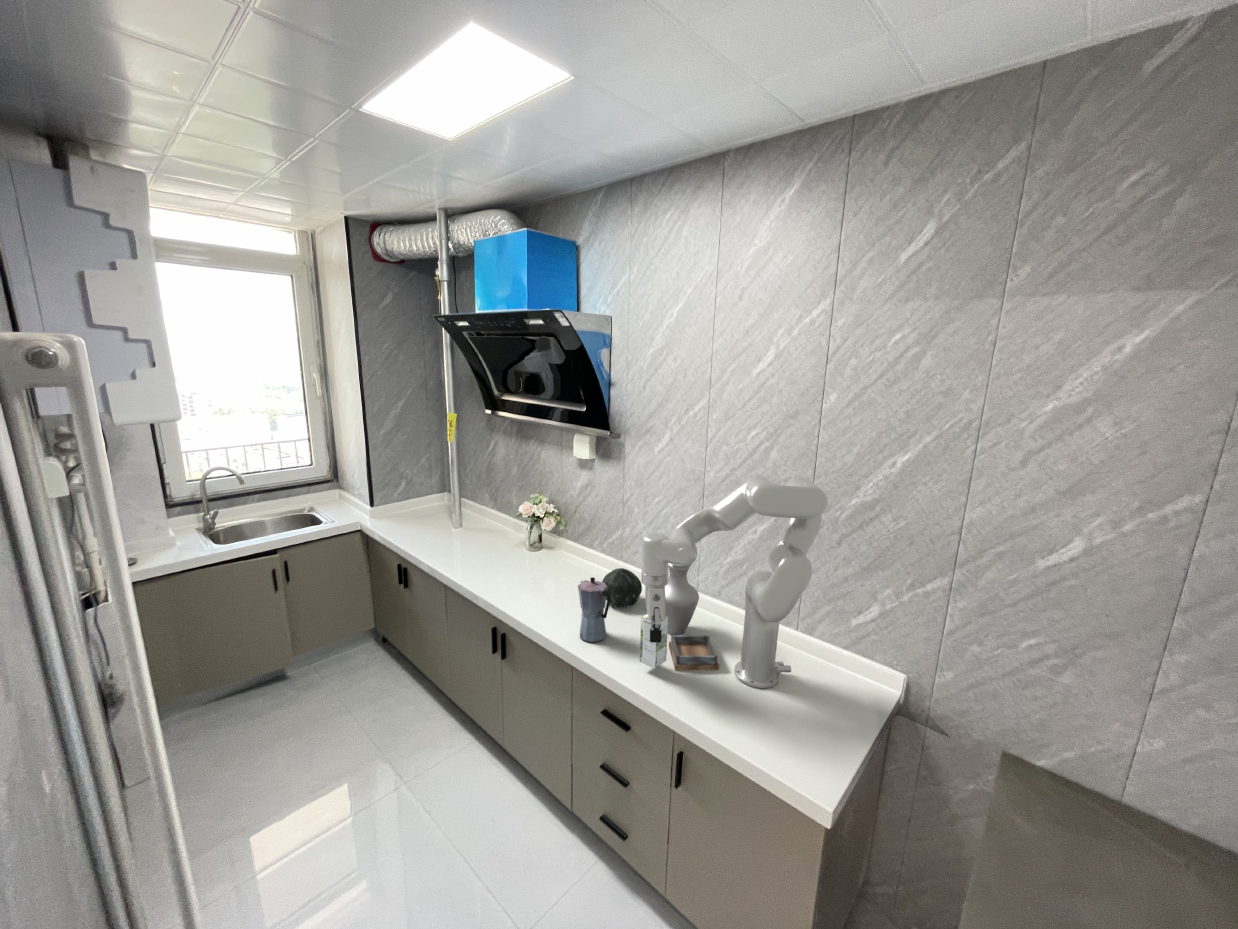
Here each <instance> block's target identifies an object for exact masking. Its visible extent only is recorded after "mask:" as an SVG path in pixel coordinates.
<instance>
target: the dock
mask: <svg viewBox="0 0 1238 929" xmlns="http://www.w3.org/2000/svg"><path fill="white" fill-rule="evenodd" d="M668 648H669V652H670V656H671V659H672V664H673V667H674V671H720V665H719V662H718V654H717V651H716V649H715V647H714V644H713V642H712V640H711V638H710V636H709V635H707V634H705V635H702V634H700V635H699V634H697V635H695V634H693V635H692V634H691V635H689V634H685V635H684V634H682V635H671V636H670V641H668Z"/></svg>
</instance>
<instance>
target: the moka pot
mask: <svg viewBox="0 0 1238 929" xmlns="http://www.w3.org/2000/svg"><path fill="white" fill-rule="evenodd" d="M577 590H578V597H579V598H578V599H579V604H580V606H579V607H580V608H581V618H580V619H581V620H580V627H579V638H580V639H581V640H583V641H585V642H590V643H591V642H592V643H595V642H600V641H603V640H605V638H607V630H606V622H605V619H607V615H608V611H609V608H610V604H611V603H610V596H609V595H608V593H607V586H606V584H605V583H604V582H602V581H598V580H596V577H590V580H587V579H586V580H585V579H584V580H581V581H579V584H578V585H577ZM606 597H607V600H606Z"/></svg>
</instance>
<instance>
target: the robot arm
mask: <svg viewBox="0 0 1238 929" xmlns="http://www.w3.org/2000/svg"><path fill="white" fill-rule="evenodd" d="M828 504H829V503H828V497H827V495H826V493H825V491H823V489H822V488H820V487H819V486H818V485H816V484H815V483H814V482H812V480H809V479H808V478H806V477H803V476H793V477H791V478H790V479H789V480H788V481H787V482H786V483H785V485H784V484H783V485H782V484H776V483H773V482H772V481H771V480H770V479H768V478H767V477H765V476H762V475H754V476H752V477H750V478H748V479H747V480H745V481H744V482H742V483H741V484H740V485H739V486H737V487H736V488H735V489H733V490H731V491H730V492H729V493H727V494H726V495H725V496H724V497H723V498H721V499H720V500H719V501H717V502H716V503H715V504H713V505H711V506H709V507H706V508H705V509H702V510H700V511H698V512H696V513H694V514H692V515H690V516H689V517H688V518H687V519H685V520H684V521H682V523H680V524H678V526H676V527H675V528H673V530H672V531H671V533H669V536H667V535H665V534H664V533H659V532H649V533H647V534H645V535H644V536H643V537H642V542H641V584H643V586H645V590H644V592H645V593H644V594H645V598H644V599H645V608H646V613H647V614H648V618H649V620H651V629H650V642H661V633H662V629H661V619H662V620H665V619H666V599H665V586H666V585H667V584H668V579H669V567H668V563H672V564H676V565H690V564H691V565H692V564H693V563H694V562H695V561H696V560H697V557H698V555H699V554H698V547H697V543H699V542H700V541H701V540H703V539H704V538H705V537H707V536H709V535H710V534H712V533H715V532H722V531H724V532H729V531H733V530H735V529H737V528H738V527H739V526H741V525H742V524H744V523H745V522H746V521H747V520H748V519H750V518H751V517H753V516H754V515H755V514H758V515H761V516H765V517H769V518H771V517H772V518H783V519H785V518H786V519H787V520H786V523H785V525H784V527H783V529H782V530H781V531H780V533H779V535H778V536H777V538H776V540H775V541H774V543H773V544H772V545H771V548H770V549H769V551H768V553H767V562H768V565H769V567H770V569H771V570H772V572H770V570H769V571H768V570H764V569H760V570H756V571H754V572H753V573H751V575H749V577H747V578H748V579H747V580H746V582H745V590H744V591H745V592H744V595H745V596H744V597H745V599H744V601H745V608H744V620H743V621H744V622H743V631H742V632H743V633H742V635H743V636H742V641H741V642H742V644H741V645H742V646H741V654H740V656H741V657H740V661H738V662H736V664H735V665H734V674H735V677H736V678H737V679H738V680H739V681H740V682H741V683H743V684H745V685H748V686H750V687H753V688H758V689H768V688H772V687H774V686H776V685H777V684H778V683H779V680H780V674H781V673H792V667H791V666H792V665H790V664H789V665H787V664H786V665H785V664H784V661H780V660H779V661H776V655H777V646H778V638H779V629H780V621H782V620H784V619H785V618H787V617H788V616H789V615H790V613H791V612H792V610H793V609H794V608H795V607H796V605H797V603H798V602H799V601H800V598H801V597H802V595H803V594H804V592H805V590H807V587H808V586H809V585H810V584H809V583H810V582H811V580H812V576H813V566H812V562H811V561H810V559H809V557H808V556H807V555H808V552H809V551H810V549H811V547H812V546H813V545H814V544H813V543H814V542H815V540H816V538H817V536H818V534H819V532H820V529H821V526H822V518H823V517H822V516H823V515H822V514H824V513H825V512H826V510H827V507H828ZM652 616H655V618H652ZM653 621H655V624H654V625H653Z"/></svg>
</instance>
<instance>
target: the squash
mask: <svg viewBox="0 0 1238 929" xmlns="http://www.w3.org/2000/svg"><path fill="white" fill-rule="evenodd" d="M601 582H604V583H605V584H606V586H607V593H608V595H609V596H610V604H612V605H613V607H614V608H619V607H621V608H627V607H628V606H633V605H635V604H636V603H637V602H638V601H639V598H640V596H641V594H642V590H643V586H642V581H641V579H640V578H639V577H638V576H637V575H636V574H635V573H634V572H633V571H630V570H629V569H626V568H622V567H620V568H615V569H613V570H612V571H610V572H608V573H607V574H606V575H604V577H603V579H602V581H601ZM606 601H607V597H606Z"/></svg>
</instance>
